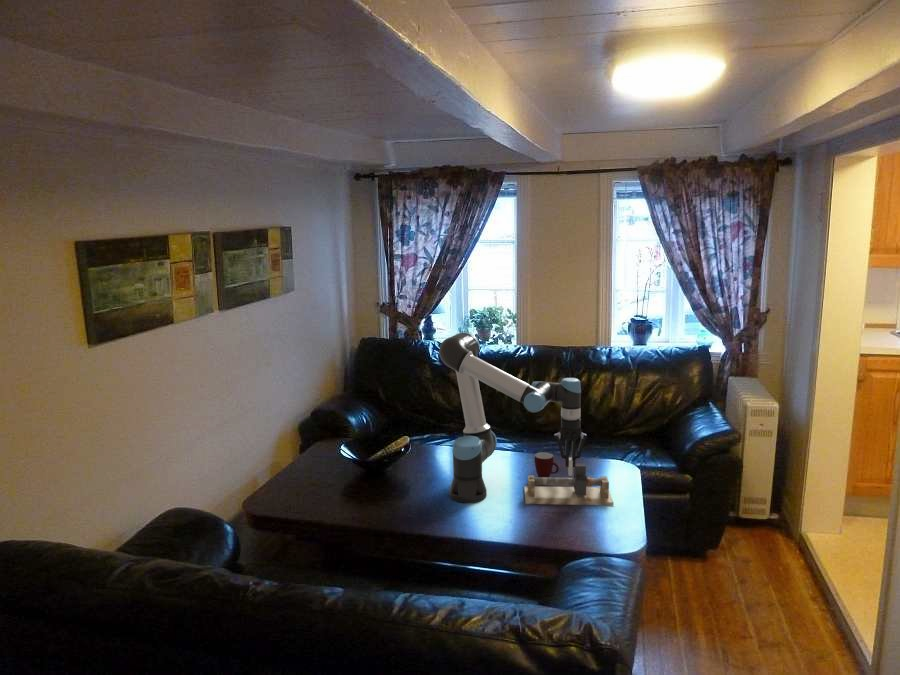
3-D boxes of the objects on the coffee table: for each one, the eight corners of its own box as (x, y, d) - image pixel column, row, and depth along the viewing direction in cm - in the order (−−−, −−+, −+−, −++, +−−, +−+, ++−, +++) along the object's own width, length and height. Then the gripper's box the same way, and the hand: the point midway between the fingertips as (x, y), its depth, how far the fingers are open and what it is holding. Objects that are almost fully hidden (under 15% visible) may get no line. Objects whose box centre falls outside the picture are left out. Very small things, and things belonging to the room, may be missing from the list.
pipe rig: (525, 503, 249) (525, 484, 248) (524, 488, 263) (524, 470, 262) (613, 505, 246) (614, 485, 245) (607, 490, 260) (608, 471, 259)
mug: (560, 475, 276) (560, 453, 274) (557, 482, 268) (557, 460, 267) (536, 473, 279) (536, 451, 278) (532, 480, 272) (532, 457, 270)
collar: (575, 495, 250) (576, 469, 248) (573, 487, 258) (574, 461, 256) (586, 495, 250) (586, 469, 248) (583, 487, 258) (584, 461, 256)
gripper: (554, 420, 245) (554, 478, 250) (588, 420, 244) (588, 478, 249) (553, 414, 253) (553, 470, 257) (586, 414, 252) (585, 470, 256)
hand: (570, 474), depth 253 cm, fingers closed
